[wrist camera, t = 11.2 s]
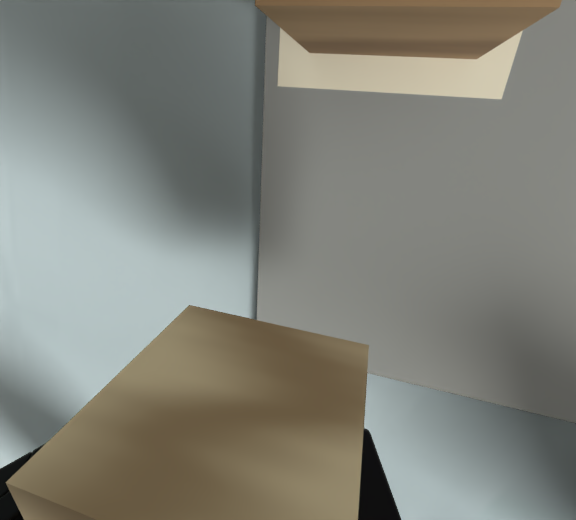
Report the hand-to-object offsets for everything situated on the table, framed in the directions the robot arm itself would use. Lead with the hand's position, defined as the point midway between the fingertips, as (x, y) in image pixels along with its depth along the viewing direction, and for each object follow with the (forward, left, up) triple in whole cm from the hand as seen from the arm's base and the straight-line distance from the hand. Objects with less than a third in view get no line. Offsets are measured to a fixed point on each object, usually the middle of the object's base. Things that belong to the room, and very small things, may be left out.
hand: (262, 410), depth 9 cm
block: (0, 0, -1) cm, 1 cm away
